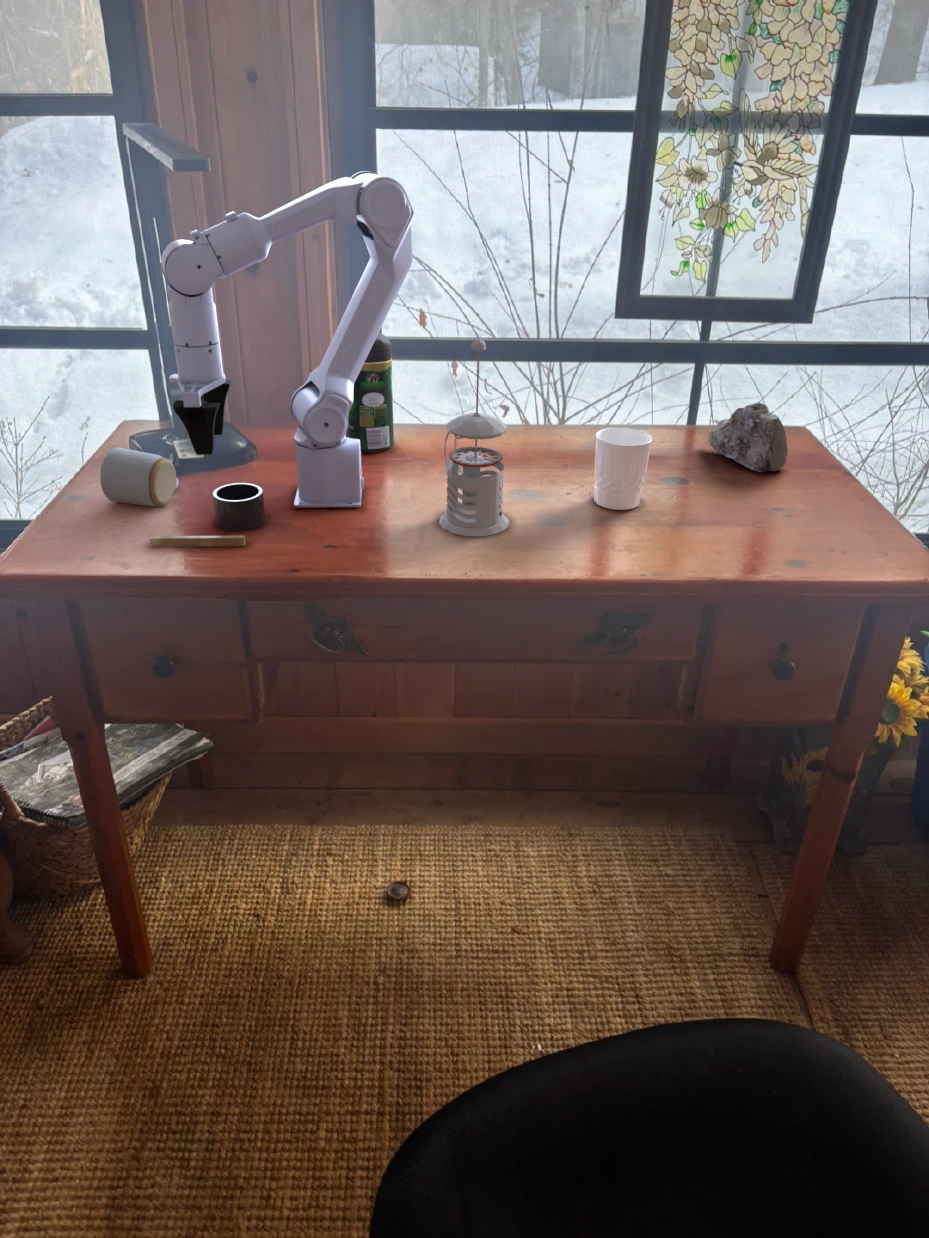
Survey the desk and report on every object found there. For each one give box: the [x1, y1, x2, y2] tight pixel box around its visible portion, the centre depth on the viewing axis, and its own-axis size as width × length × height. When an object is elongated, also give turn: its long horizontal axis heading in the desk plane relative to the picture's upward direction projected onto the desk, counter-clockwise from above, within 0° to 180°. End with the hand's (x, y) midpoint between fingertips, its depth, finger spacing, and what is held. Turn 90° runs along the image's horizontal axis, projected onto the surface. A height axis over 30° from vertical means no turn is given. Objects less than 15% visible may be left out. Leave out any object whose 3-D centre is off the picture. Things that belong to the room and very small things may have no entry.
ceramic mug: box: [99, 446, 179, 507], centre depth 130 cm, size 11×8×8 cm
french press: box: [438, 338, 510, 538], centre depth 122 cm, size 10×12×25 cm
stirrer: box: [149, 535, 246, 548], centre depth 119 cm, size 10×1×8 cm
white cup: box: [593, 426, 653, 511], centre depth 132 cm, size 8×8×10 cm
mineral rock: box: [707, 401, 789, 473], centre depth 148 cm, size 13×11×10 cm
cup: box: [212, 482, 266, 532], centre depth 125 cm, size 7×7×4 cm
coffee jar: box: [346, 331, 395, 453], centre depth 149 cm, size 10×8×19 cm
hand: (209, 443), depth 124 cm, fingers open, 7 cm apart
